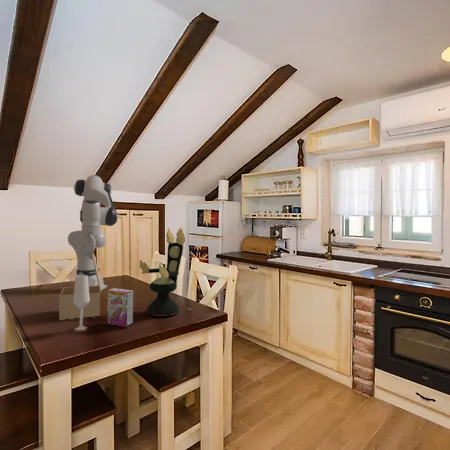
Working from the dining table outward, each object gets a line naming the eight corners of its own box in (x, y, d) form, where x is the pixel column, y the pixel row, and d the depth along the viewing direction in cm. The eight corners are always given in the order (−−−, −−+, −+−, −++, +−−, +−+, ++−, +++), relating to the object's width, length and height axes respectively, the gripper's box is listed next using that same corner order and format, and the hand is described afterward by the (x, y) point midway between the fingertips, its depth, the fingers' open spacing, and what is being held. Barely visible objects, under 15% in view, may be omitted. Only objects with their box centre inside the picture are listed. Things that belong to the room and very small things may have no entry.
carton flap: (92, 257, 156) (93, 257, 156) (92, 253, 171) (93, 253, 171) (100, 292, 158) (101, 292, 158) (100, 285, 173) (101, 285, 173)
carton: (59, 320, 152) (59, 295, 151) (62, 310, 167) (62, 287, 166) (99, 316, 159) (100, 292, 158) (99, 307, 173) (100, 285, 173)
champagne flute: (86, 333, 137) (86, 277, 136) (70, 333, 137) (70, 277, 136) (91, 327, 144) (92, 274, 143) (76, 327, 144) (76, 274, 143)
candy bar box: (106, 325, 147) (106, 290, 147) (113, 321, 152) (113, 287, 152) (126, 328, 144) (127, 292, 143) (133, 325, 149) (133, 290, 148)
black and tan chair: (137, 312, 167) (138, 226, 165) (170, 304, 184) (172, 226, 182) (159, 321, 155) (161, 228, 153) (192, 311, 171) (195, 227, 170)
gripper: (97, 233, 154) (97, 261, 154) (97, 230, 173) (97, 256, 174) (83, 233, 152) (82, 262, 152) (85, 230, 171) (84, 256, 171)
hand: (90, 259), depth 163 cm, fingers closed
